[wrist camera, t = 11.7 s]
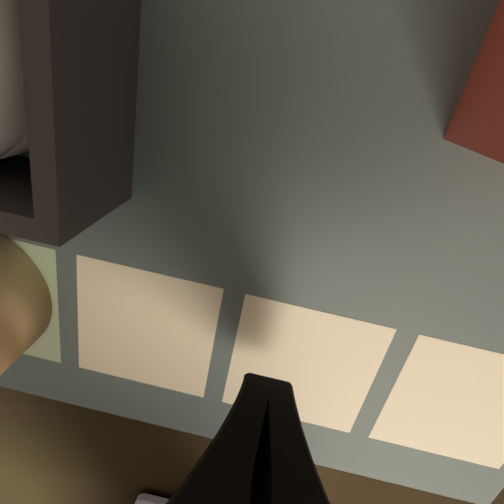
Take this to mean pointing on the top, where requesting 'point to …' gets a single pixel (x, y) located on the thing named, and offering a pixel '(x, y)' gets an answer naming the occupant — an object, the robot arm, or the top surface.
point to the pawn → (20, 303)
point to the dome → (11, 84)
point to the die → (483, 98)
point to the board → (267, 224)
